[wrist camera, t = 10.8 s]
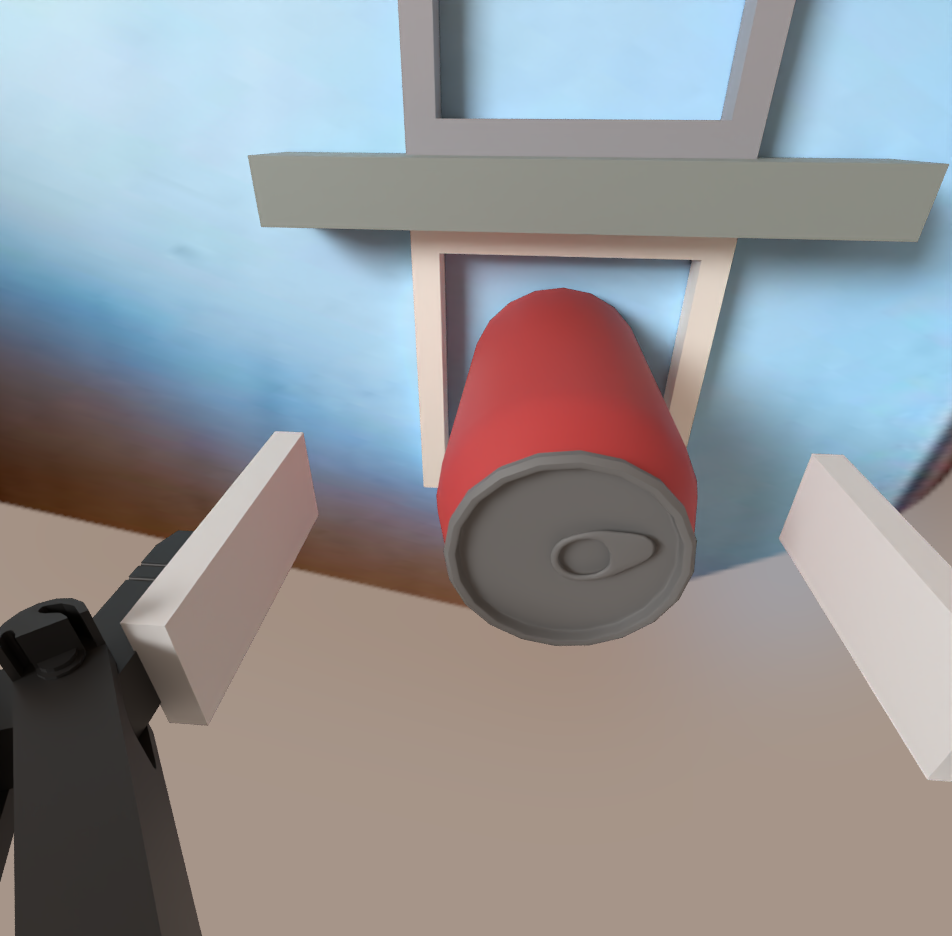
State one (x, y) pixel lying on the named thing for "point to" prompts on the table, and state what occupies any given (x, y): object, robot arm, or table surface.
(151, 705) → the robot arm
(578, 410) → the beer can
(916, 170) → the double frame with crossbar
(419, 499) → the table surface
